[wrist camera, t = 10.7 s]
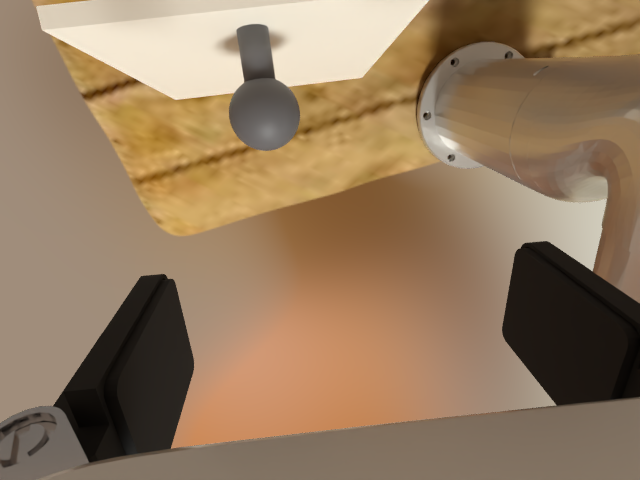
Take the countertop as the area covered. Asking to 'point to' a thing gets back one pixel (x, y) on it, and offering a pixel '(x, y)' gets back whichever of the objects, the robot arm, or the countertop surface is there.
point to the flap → (235, 49)
